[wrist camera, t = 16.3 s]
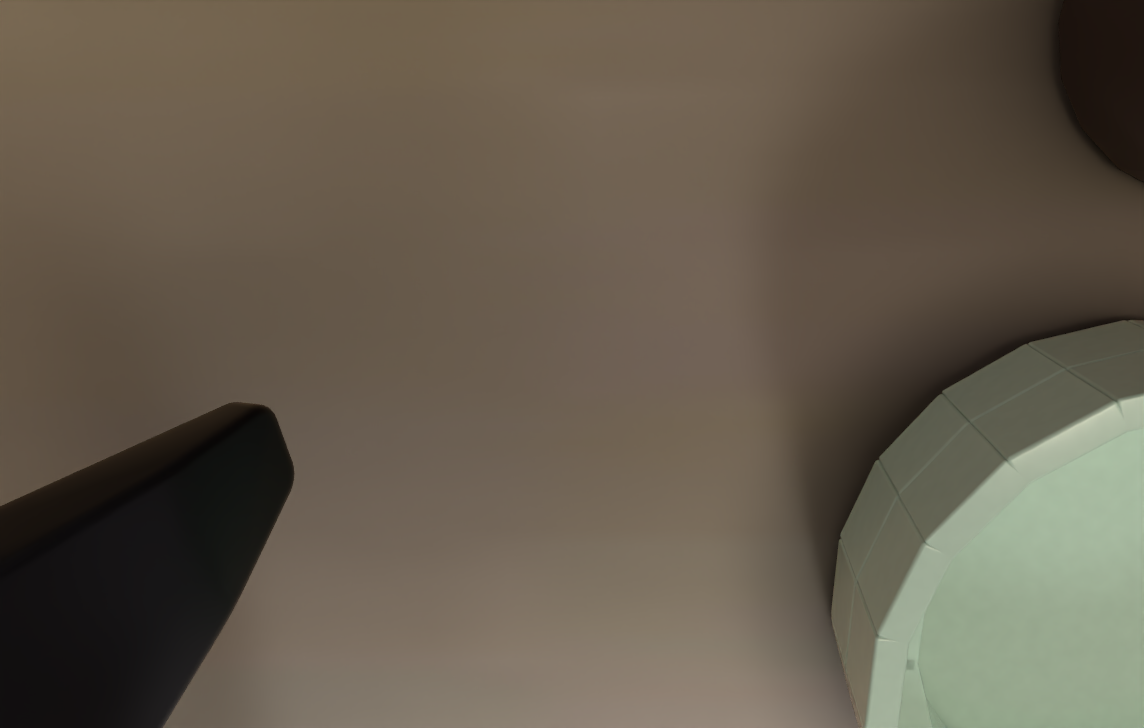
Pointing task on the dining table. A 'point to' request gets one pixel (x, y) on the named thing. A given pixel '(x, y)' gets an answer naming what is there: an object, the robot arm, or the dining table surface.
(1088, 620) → the basin
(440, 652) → the dining table surface
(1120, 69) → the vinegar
